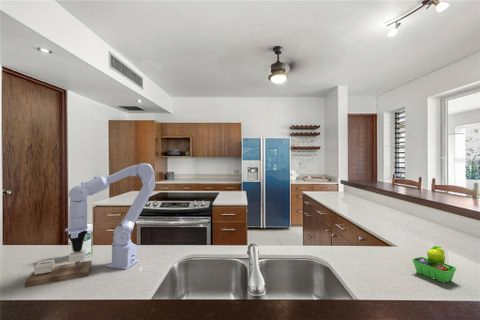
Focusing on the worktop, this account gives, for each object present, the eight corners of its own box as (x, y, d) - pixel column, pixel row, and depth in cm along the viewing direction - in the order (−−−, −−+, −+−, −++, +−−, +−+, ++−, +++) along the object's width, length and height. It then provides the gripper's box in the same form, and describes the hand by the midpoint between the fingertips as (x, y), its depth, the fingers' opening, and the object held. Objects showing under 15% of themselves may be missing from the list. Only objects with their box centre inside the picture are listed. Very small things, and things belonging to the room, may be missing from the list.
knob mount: (91, 265, 93) (91, 255, 93) (87, 275, 84) (87, 265, 84) (35, 274, 85) (35, 263, 85) (24, 287, 76) (24, 275, 76)
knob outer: (54, 266, 85) (54, 259, 86) (50, 271, 81) (50, 264, 81) (39, 269, 83) (39, 261, 83) (34, 274, 79) (34, 266, 79)
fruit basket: (411, 271, 89) (410, 243, 90) (424, 267, 93) (423, 240, 93) (446, 286, 79) (446, 254, 79) (459, 281, 82) (459, 250, 83)
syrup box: (81, 259, 98) (82, 226, 98) (70, 258, 99) (71, 225, 100) (92, 254, 104) (93, 223, 104) (82, 253, 105) (82, 222, 105)
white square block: (85, 256, 90) (85, 249, 90) (83, 260, 86) (83, 253, 86) (71, 258, 88) (71, 251, 88) (68, 262, 84) (69, 255, 84)
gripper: (70, 213, 92) (69, 246, 92) (60, 221, 79) (59, 260, 79) (90, 211, 95) (89, 243, 95) (84, 219, 82) (83, 256, 82)
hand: (77, 251), depth 87 cm, fingers closed
